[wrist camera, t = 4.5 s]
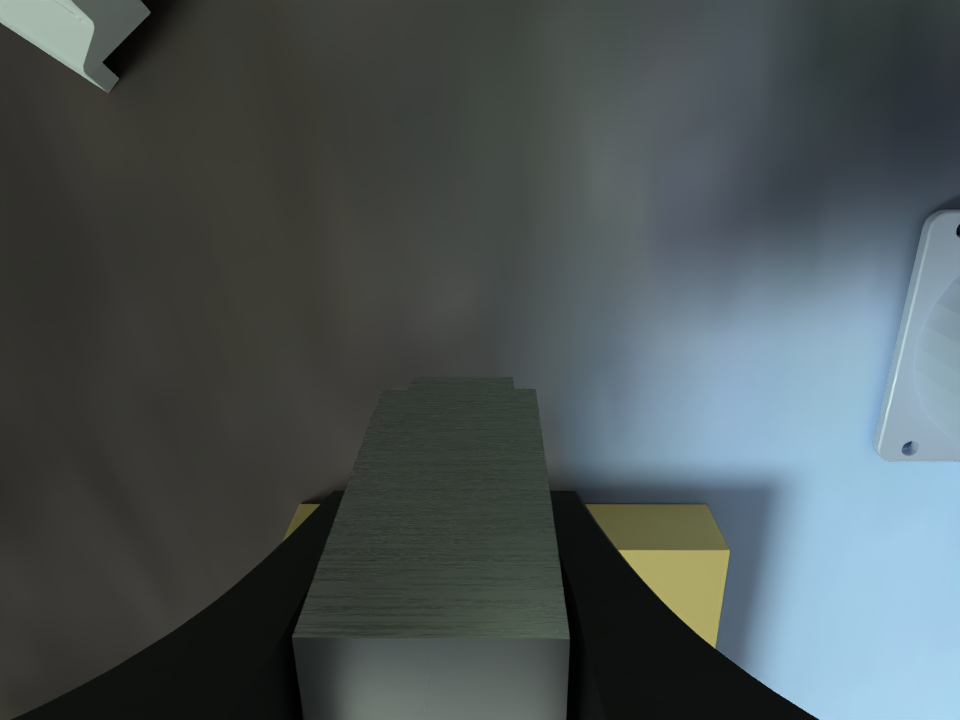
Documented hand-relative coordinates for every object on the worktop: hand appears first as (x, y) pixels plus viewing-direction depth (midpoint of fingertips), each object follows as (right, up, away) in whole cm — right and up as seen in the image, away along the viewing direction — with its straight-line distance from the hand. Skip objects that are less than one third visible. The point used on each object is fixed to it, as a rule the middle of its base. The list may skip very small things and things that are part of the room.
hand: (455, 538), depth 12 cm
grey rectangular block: (0, +1, +3) cm, 4 cm away
